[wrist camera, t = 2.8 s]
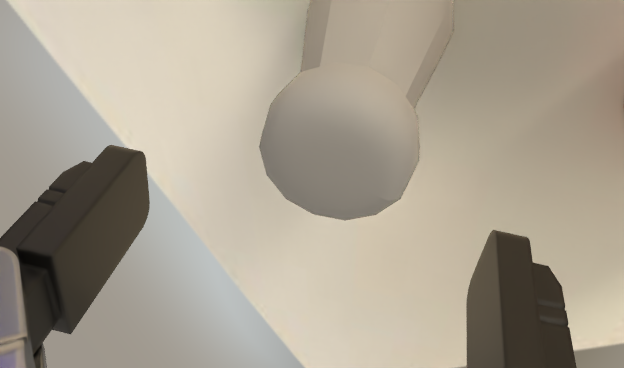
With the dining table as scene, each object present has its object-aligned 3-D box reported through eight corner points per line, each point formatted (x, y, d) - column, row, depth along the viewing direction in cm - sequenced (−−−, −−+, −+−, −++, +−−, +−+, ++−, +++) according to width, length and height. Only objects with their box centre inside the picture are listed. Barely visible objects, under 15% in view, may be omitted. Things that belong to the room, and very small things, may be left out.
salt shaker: (346, 74, 27) (274, 267, 17) (300, -43, 24) (182, 103, 14) (470, 40, 25) (471, 238, 15) (435, -94, 22) (407, 38, 12)
